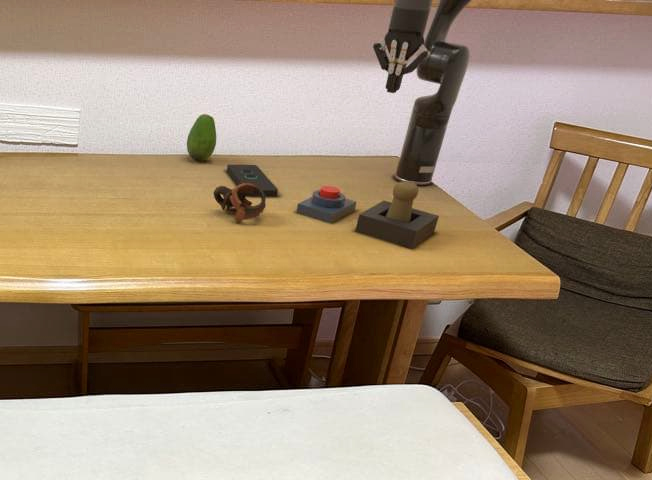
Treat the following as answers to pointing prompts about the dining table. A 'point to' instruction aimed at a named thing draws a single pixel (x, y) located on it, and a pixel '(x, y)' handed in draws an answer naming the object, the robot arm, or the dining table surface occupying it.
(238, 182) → the smart home device
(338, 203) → the power block
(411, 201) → the cork
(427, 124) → the robot arm
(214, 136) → the avocado
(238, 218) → the brown looped knot
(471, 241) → the dining table surface
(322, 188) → the power button
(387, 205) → the socket
